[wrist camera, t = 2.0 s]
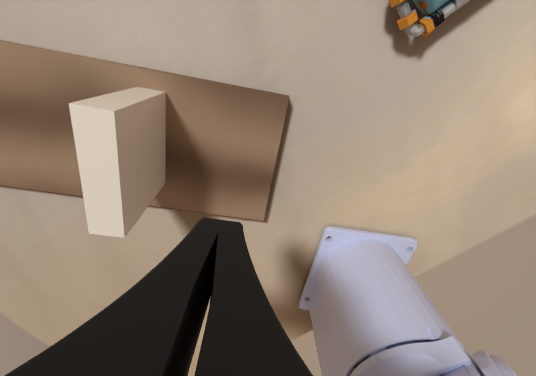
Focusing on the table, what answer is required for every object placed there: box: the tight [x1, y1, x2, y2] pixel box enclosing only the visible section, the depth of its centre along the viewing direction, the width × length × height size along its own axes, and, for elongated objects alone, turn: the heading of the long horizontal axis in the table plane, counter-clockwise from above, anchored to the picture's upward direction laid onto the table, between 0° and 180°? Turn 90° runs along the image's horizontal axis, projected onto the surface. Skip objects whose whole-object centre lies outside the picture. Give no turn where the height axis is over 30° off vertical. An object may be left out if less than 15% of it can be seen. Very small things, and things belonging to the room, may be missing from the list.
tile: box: [69, 87, 166, 238], centre depth 14 cm, size 6×2×6 cm, turn 169°
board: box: [0, 40, 289, 221], centre depth 17 cm, size 9×20×1 cm, turn 79°
